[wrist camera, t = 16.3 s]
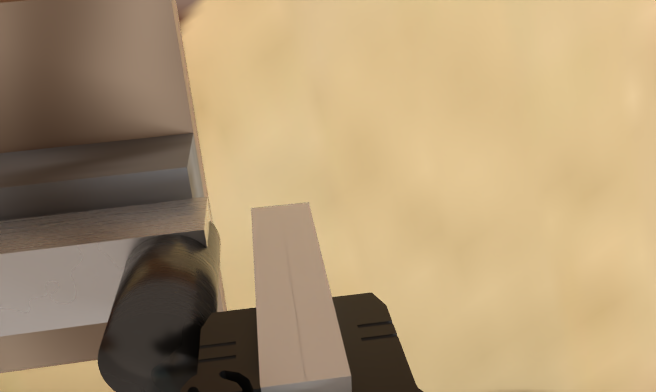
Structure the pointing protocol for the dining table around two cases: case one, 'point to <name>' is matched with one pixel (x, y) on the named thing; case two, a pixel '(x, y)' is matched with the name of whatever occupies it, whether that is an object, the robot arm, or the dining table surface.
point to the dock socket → (91, 128)
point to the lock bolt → (117, 285)
